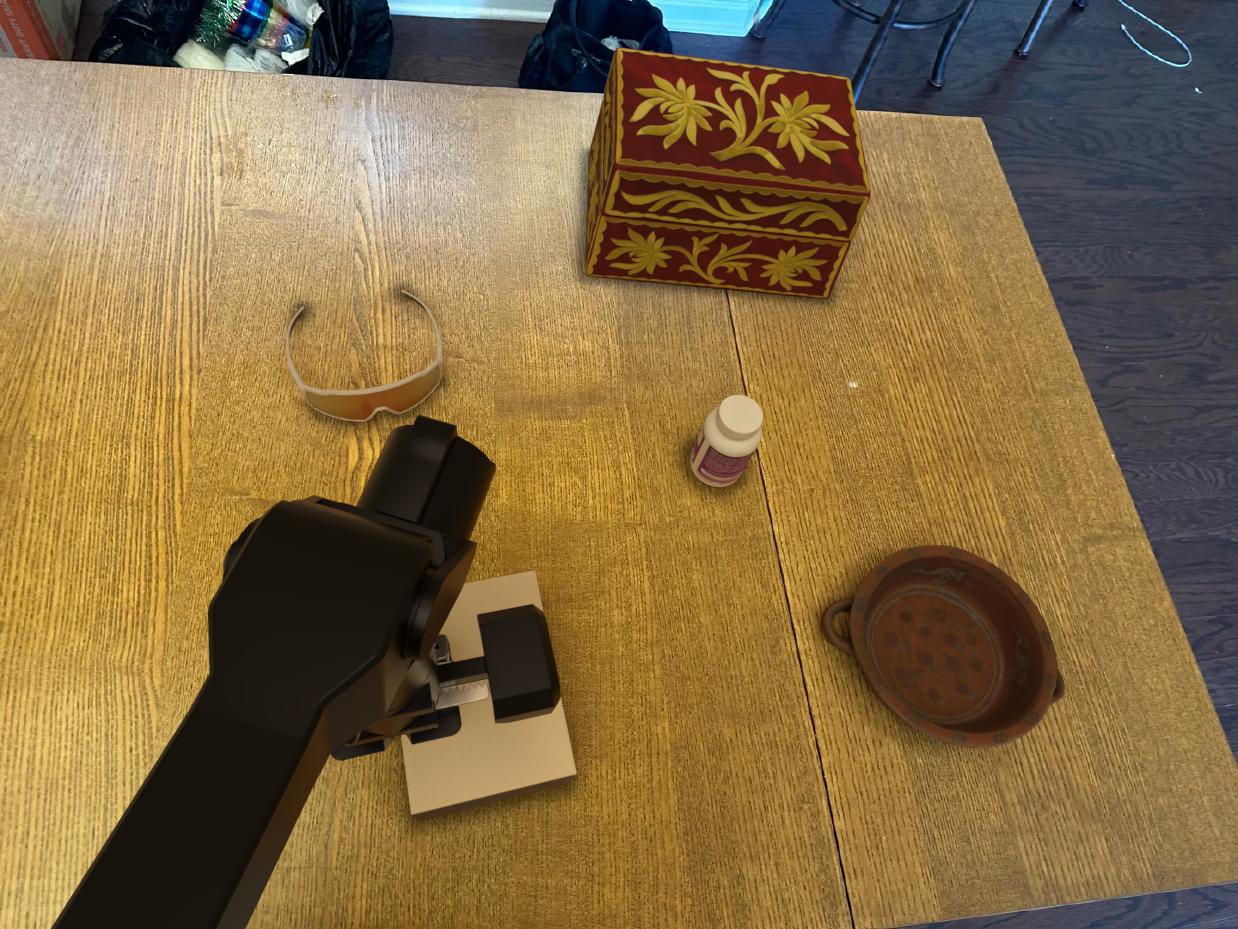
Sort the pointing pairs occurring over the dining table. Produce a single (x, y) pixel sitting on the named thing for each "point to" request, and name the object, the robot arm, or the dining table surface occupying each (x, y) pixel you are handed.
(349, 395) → the sunglasses
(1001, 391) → the dining table surface
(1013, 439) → the dining table surface
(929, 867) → the dining table surface
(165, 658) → the dining table surface
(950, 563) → the dish
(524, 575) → the lid
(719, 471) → the pill bottle
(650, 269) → the decorative box
